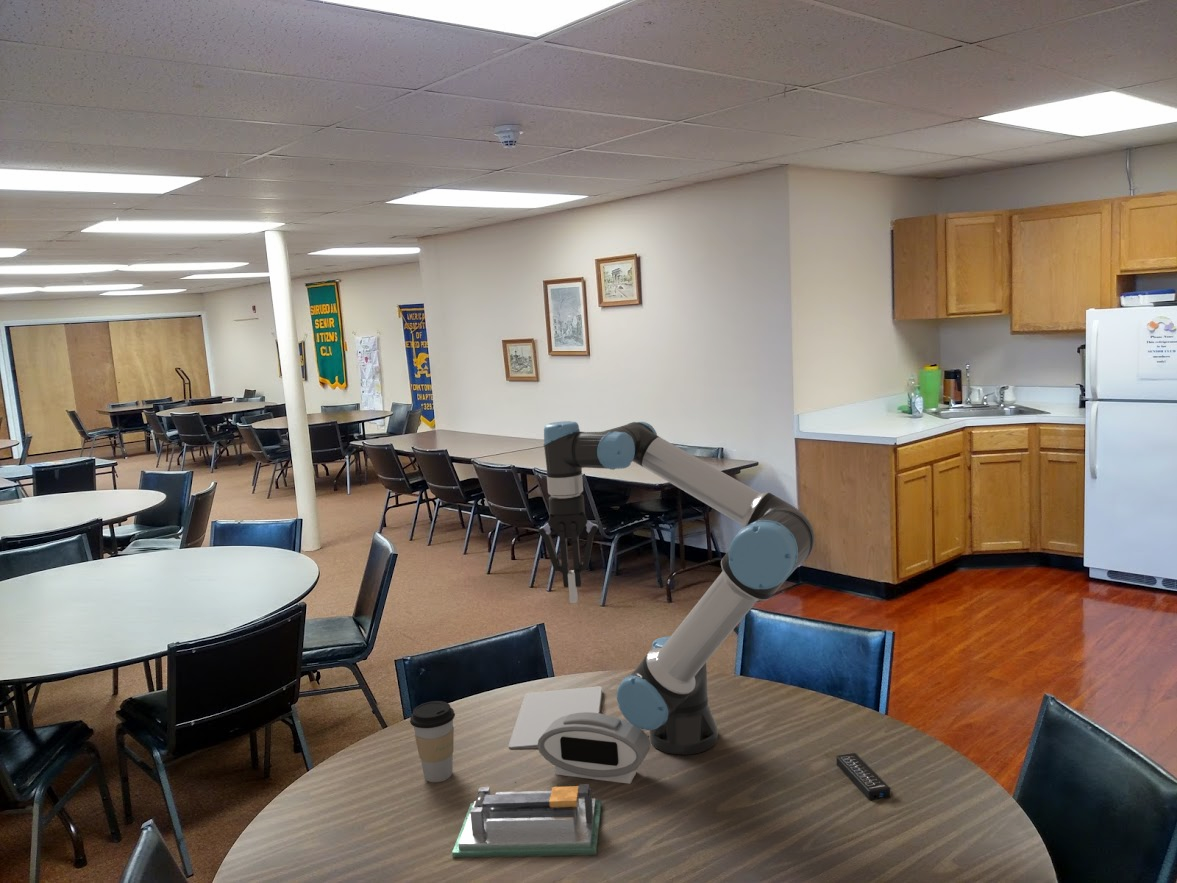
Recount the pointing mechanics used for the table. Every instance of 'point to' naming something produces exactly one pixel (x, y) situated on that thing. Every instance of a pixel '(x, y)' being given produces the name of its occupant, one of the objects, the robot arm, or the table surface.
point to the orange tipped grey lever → (532, 799)
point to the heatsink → (530, 829)
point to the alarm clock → (594, 747)
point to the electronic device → (550, 712)
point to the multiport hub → (863, 777)
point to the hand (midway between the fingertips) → (573, 601)
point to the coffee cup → (434, 739)
